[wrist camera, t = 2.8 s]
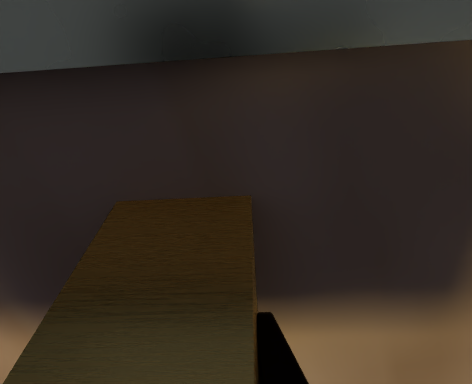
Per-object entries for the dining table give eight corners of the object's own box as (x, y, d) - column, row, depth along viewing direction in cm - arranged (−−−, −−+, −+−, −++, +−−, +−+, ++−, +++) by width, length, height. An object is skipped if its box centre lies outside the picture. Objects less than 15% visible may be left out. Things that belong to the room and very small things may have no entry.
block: (164, 362, 12) (120, 560, 8) (117, 201, 9) (-10, 402, 4) (260, 361, 12) (267, 564, 8) (250, 195, 9) (254, 400, 4)
